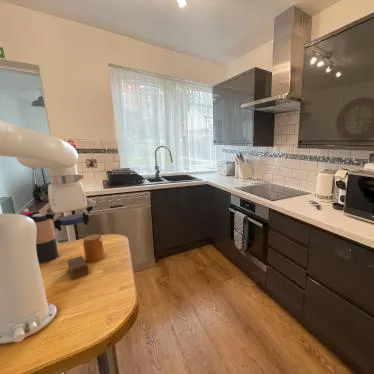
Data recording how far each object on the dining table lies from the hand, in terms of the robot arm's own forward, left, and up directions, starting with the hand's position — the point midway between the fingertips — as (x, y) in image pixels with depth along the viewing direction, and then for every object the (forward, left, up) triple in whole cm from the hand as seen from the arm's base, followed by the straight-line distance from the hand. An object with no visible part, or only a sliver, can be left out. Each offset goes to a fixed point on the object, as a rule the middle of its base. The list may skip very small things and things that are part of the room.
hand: (72, 226), depth 80 cm
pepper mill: (+32, +11, -18) cm, 39 cm away
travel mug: (+20, +8, -18) cm, 28 cm away
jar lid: (0, 0, +3) cm, 3 cm away
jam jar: (+6, -6, -18) cm, 20 cm away
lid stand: (-1, +1, -18) cm, 18 cm away
